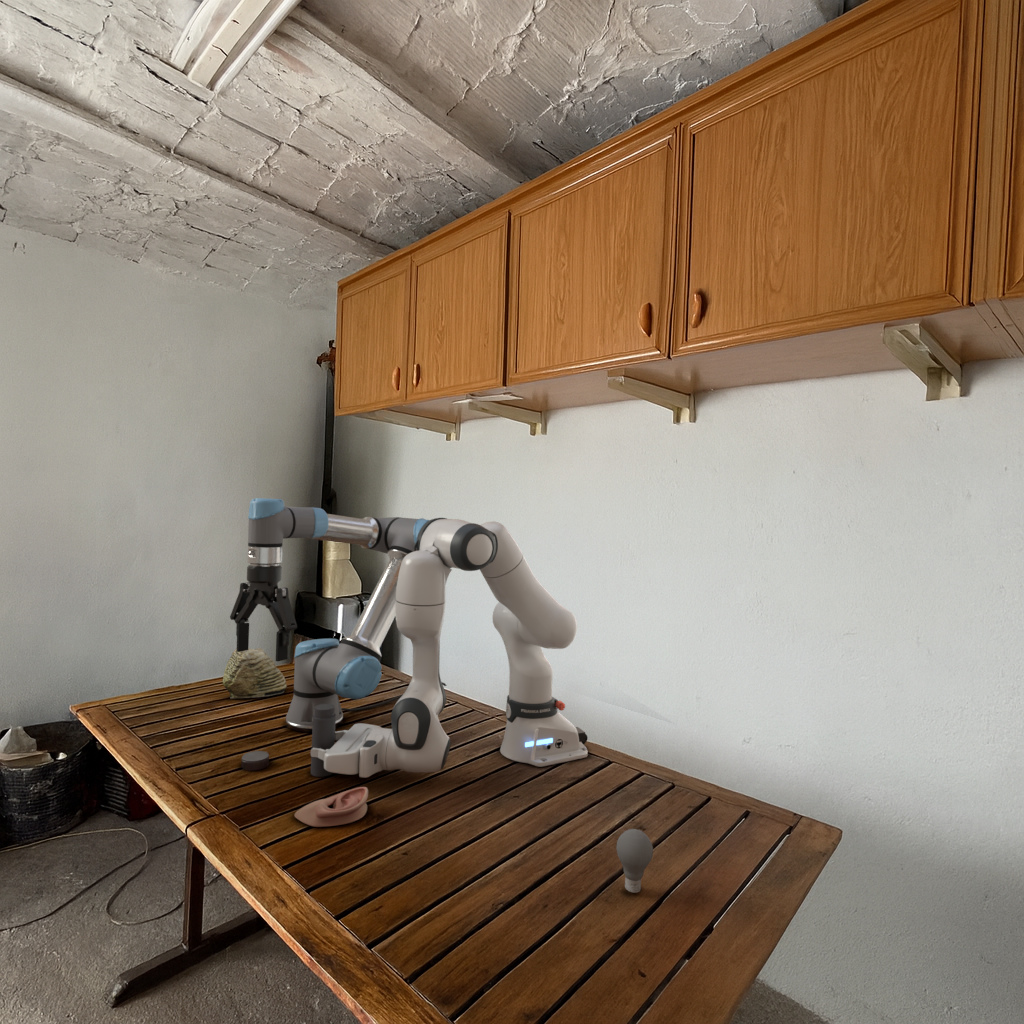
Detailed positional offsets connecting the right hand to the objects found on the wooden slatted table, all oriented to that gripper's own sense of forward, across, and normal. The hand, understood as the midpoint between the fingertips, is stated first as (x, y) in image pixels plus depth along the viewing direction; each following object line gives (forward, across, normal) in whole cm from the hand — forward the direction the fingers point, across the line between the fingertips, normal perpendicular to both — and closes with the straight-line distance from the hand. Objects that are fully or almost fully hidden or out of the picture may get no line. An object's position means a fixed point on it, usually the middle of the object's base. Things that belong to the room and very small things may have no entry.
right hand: (320, 743), depth 146 cm
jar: (-1, 0, +7) cm, 7 cm away
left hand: (+15, -1, -19) cm, 25 cm away
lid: (+16, 0, +5) cm, 16 cm away
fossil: (+41, -48, +7) cm, 64 cm away
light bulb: (-68, +34, +7) cm, 76 cm away
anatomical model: (-10, +18, +7) cm, 22 cm away
